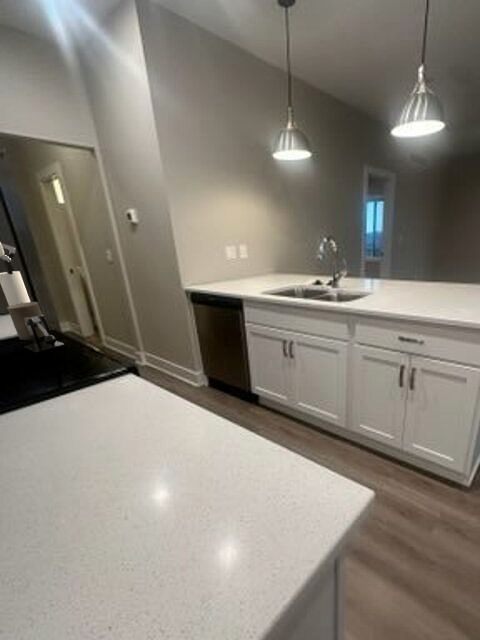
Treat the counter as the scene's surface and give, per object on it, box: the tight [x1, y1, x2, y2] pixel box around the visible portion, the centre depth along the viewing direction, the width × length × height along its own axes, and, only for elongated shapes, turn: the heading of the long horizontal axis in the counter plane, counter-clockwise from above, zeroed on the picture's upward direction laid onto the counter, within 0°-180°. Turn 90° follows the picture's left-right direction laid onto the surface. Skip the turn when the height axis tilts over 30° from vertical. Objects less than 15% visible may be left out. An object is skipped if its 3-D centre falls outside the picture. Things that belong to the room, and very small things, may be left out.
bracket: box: [24, 314, 65, 353], centre depth 122 cm, size 12×9×12 cm
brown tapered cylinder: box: [6, 301, 45, 341], centre depth 134 cm, size 10×10×15 cm
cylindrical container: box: [0, 270, 31, 307], centre depth 140 cm, size 7×7×25 cm
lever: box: [30, 316, 57, 345], centre depth 119 cm, size 13×3×3 cm
